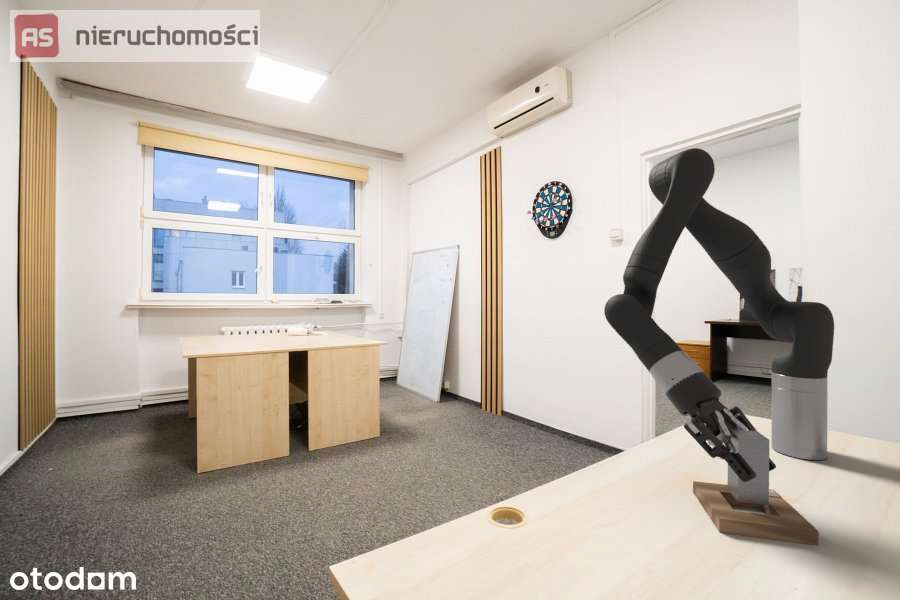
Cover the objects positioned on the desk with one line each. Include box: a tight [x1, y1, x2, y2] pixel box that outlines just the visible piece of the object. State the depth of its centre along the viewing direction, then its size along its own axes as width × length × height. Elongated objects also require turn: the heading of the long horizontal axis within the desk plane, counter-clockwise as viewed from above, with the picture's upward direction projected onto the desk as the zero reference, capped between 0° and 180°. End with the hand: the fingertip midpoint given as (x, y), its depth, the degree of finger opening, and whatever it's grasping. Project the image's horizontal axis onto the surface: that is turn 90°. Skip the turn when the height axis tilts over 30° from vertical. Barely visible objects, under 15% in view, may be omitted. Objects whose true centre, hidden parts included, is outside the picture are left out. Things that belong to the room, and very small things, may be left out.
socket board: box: [692, 480, 819, 546], centre depth 62 cm, size 12×12×2 cm
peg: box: [727, 429, 770, 506], centre depth 62 cm, size 4×4×10 cm
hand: (760, 474), depth 61 cm, fingers closed on peg, 5 cm apart
